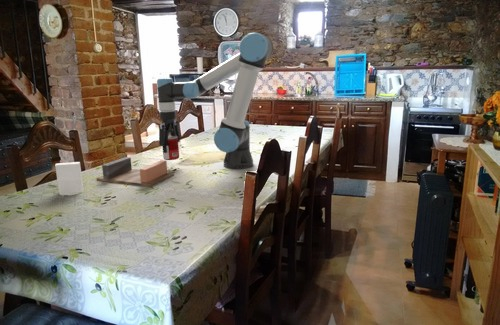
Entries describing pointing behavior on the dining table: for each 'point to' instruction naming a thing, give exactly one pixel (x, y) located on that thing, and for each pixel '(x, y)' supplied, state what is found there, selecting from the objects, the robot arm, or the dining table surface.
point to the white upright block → (69, 178)
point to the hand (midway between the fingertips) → (171, 156)
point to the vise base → (127, 174)
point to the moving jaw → (153, 171)
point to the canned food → (173, 147)
